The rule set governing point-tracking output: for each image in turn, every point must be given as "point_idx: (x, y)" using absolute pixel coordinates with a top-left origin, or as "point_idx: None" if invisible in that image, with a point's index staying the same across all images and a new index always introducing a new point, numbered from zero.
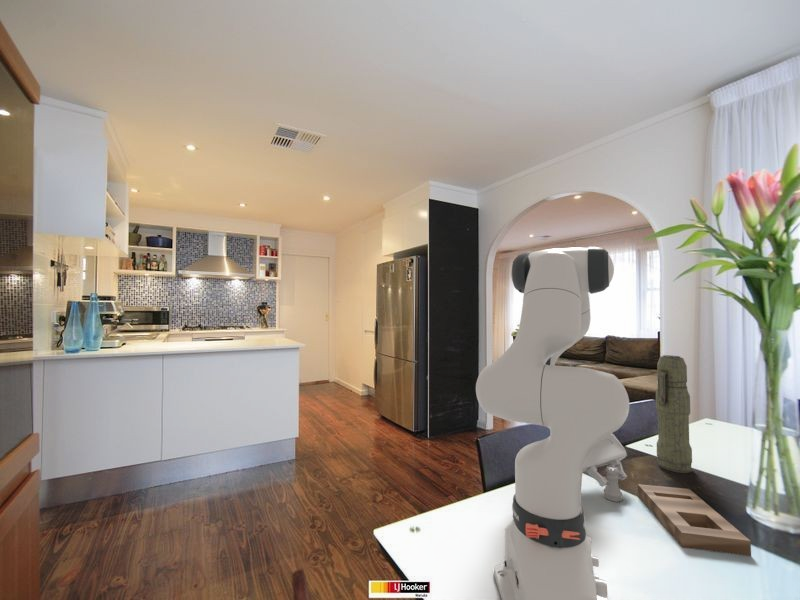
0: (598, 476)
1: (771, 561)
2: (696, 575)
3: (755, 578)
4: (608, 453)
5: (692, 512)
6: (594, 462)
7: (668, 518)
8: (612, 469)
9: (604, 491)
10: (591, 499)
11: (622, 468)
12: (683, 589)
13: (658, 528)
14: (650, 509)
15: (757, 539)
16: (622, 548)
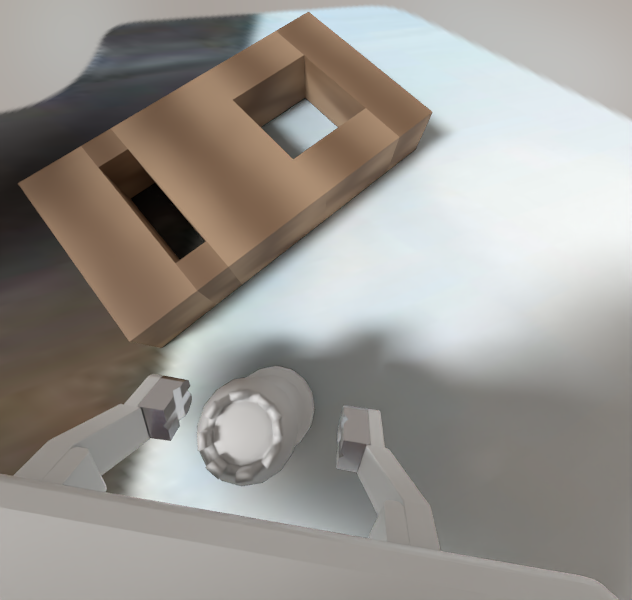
0: (394, 465)
1: None
2: (507, 104)
3: (400, 42)
4: (48, 585)
5: (252, 126)
6: (409, 571)
7: (368, 162)
8: (262, 421)
9: (300, 439)
10: None
11: (107, 412)
12: (586, 107)
13: (367, 215)
14: (259, 269)
15: (203, 61)
16: (579, 238)
